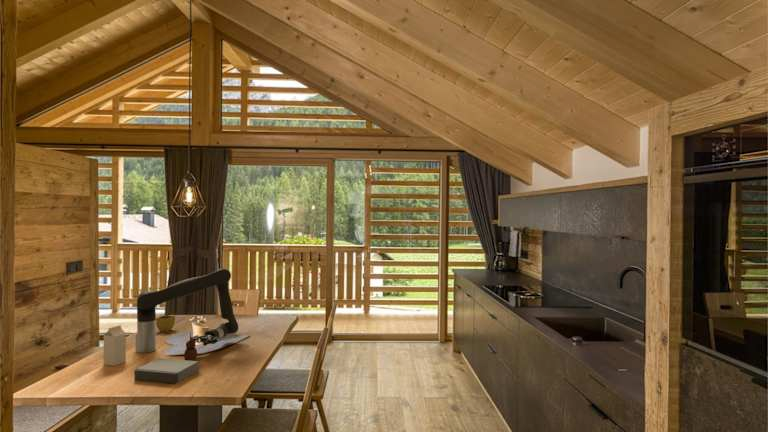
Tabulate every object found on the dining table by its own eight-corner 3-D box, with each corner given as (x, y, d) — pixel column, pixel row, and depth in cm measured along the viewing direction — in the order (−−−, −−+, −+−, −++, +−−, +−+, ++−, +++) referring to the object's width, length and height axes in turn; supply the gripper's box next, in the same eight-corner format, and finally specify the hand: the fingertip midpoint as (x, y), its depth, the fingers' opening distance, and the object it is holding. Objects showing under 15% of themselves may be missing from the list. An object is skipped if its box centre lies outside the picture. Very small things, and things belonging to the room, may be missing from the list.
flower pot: (167, 332, 298) (167, 319, 298) (155, 332, 300) (155, 318, 299) (175, 329, 306) (175, 315, 306) (164, 328, 308) (164, 315, 308)
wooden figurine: (187, 360, 244) (187, 332, 244) (198, 360, 245) (198, 332, 244) (182, 364, 237) (182, 335, 237) (194, 364, 238) (194, 335, 238)
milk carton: (125, 361, 241) (125, 325, 241) (113, 366, 234) (113, 328, 234) (115, 360, 243) (115, 324, 243) (103, 364, 237) (103, 327, 236)
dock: (134, 380, 216) (134, 369, 215) (159, 367, 232) (159, 358, 232) (176, 384, 211) (176, 373, 211) (198, 371, 228) (198, 361, 228)
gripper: (202, 327, 264) (184, 335, 248) (225, 329, 261) (209, 337, 245) (202, 341, 264) (184, 349, 248) (225, 342, 261) (208, 351, 245)
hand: (196, 343), depth 246 cm, fingers open, 8 cm apart
